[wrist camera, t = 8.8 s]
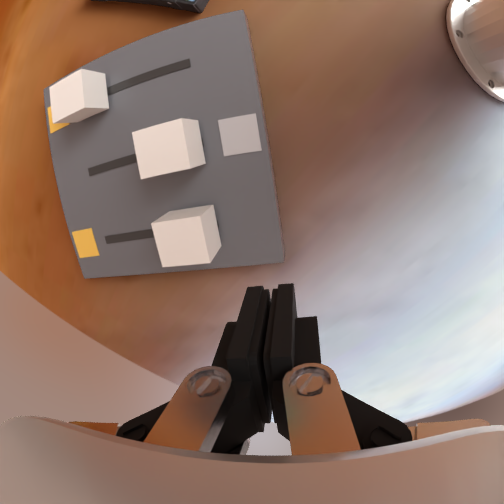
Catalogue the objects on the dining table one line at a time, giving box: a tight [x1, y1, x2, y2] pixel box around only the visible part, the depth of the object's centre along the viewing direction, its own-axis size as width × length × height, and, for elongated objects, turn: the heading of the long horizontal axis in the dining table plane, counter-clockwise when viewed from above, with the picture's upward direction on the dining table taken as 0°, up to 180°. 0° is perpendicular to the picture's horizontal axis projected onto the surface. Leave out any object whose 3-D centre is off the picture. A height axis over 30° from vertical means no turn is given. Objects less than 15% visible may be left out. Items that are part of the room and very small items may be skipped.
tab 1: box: [49, 69, 109, 124], centre depth 20 cm, size 4×4×4 cm
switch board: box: [44, 10, 285, 278], centre depth 24 cm, size 22×22×2 cm
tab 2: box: [132, 118, 206, 179], centre depth 21 cm, size 4×4×4 cm
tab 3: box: [151, 205, 221, 267], centre depth 23 cm, size 4×4×4 cm
